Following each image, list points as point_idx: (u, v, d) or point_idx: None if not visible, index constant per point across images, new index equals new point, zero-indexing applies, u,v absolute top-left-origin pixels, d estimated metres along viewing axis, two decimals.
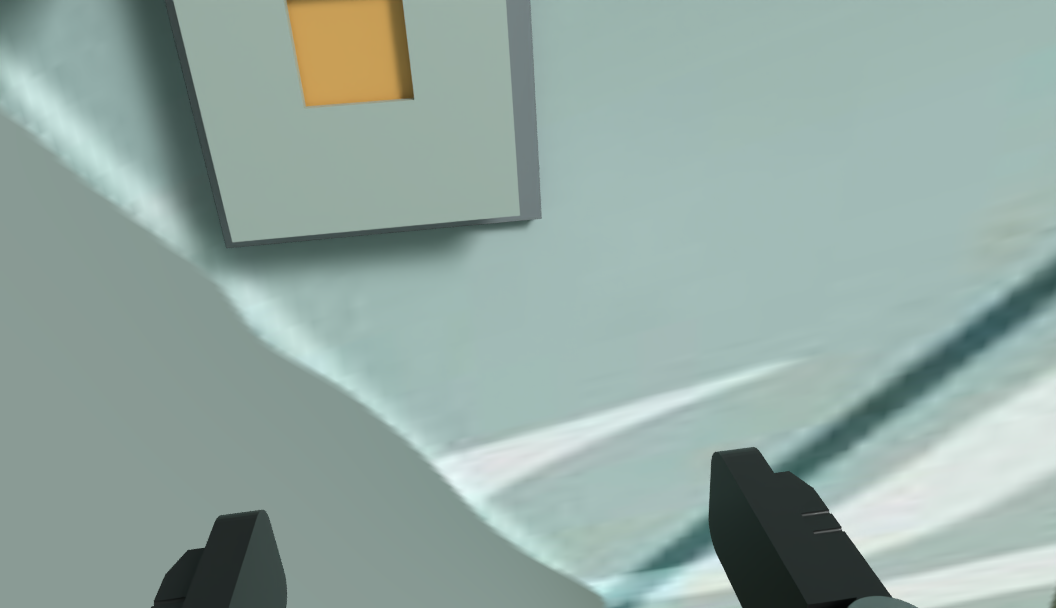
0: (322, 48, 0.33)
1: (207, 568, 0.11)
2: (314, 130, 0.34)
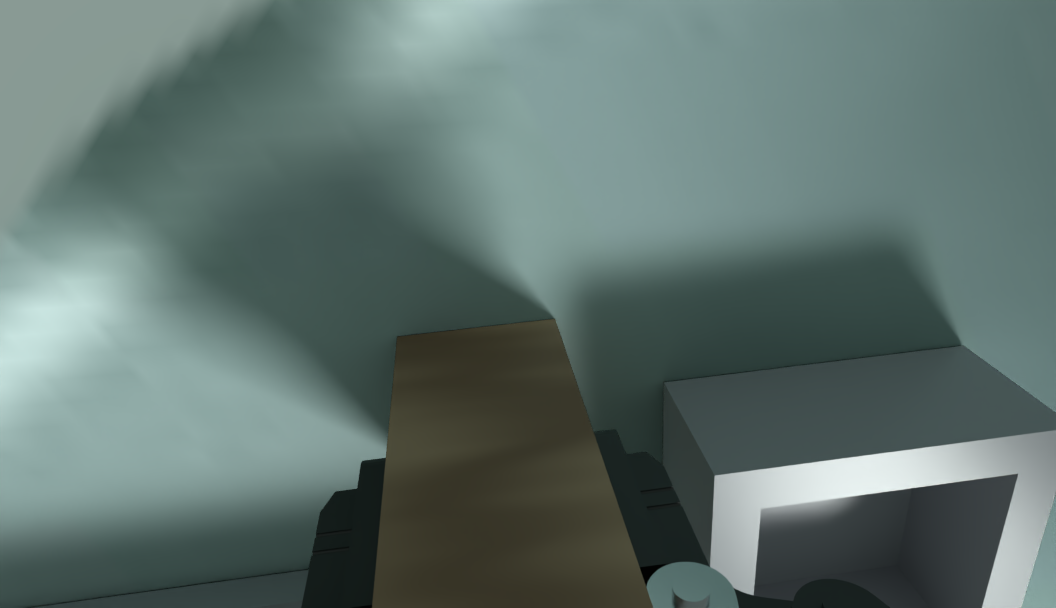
0: None
1: (365, 503, 0.12)
2: None
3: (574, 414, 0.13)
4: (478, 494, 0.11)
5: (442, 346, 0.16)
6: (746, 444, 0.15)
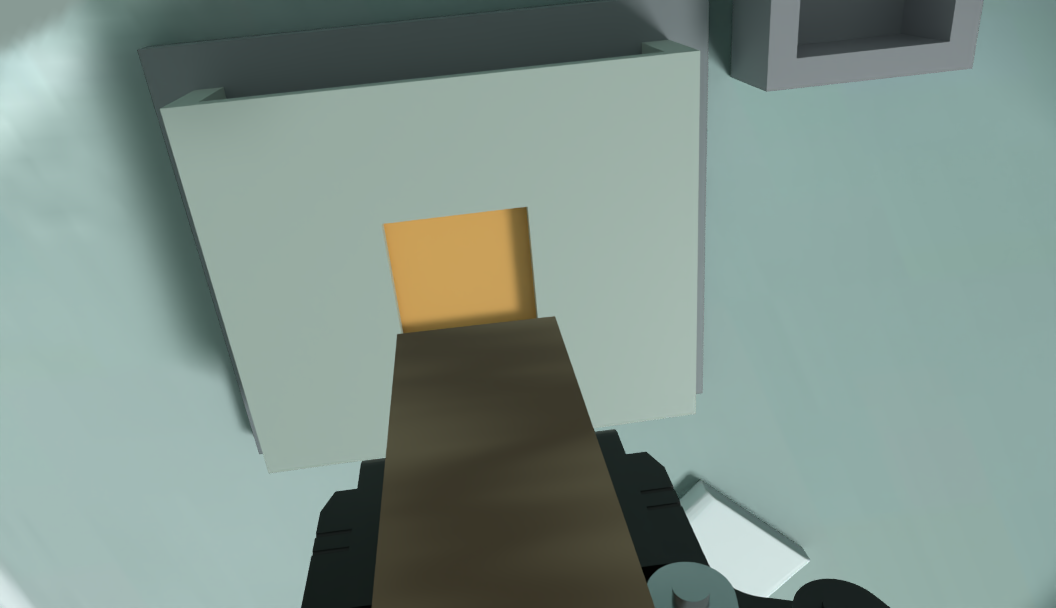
0: (456, 238, 0.26)
1: (365, 503, 0.12)
2: (353, 235, 0.25)
3: (574, 411, 0.13)
4: (478, 491, 0.11)
5: (442, 343, 0.16)
6: None
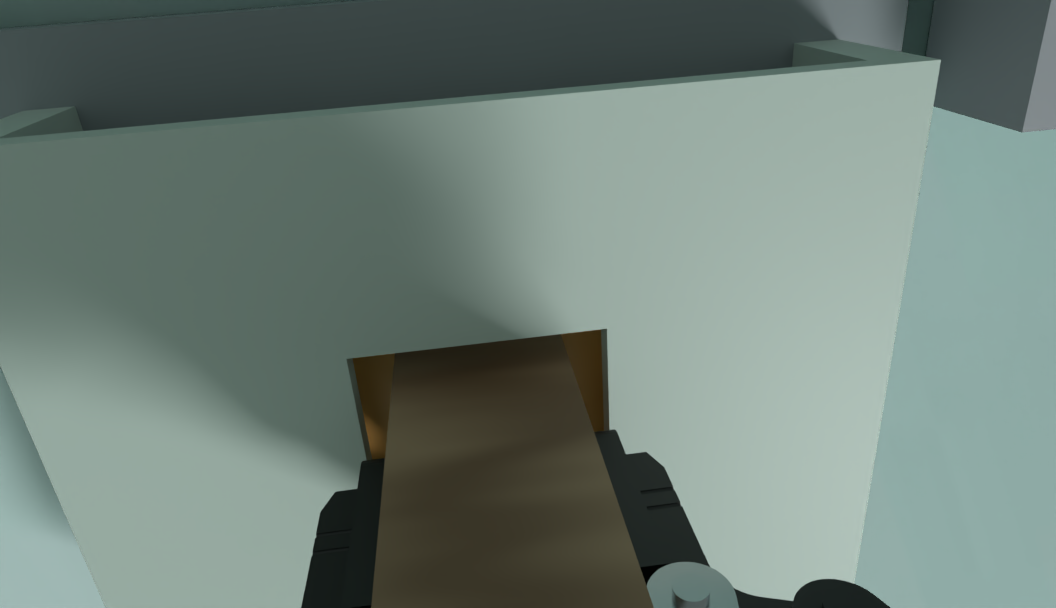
0: None
1: (365, 503, 0.12)
2: (295, 378, 0.14)
3: (574, 411, 0.13)
4: (477, 491, 0.11)
5: None
6: None
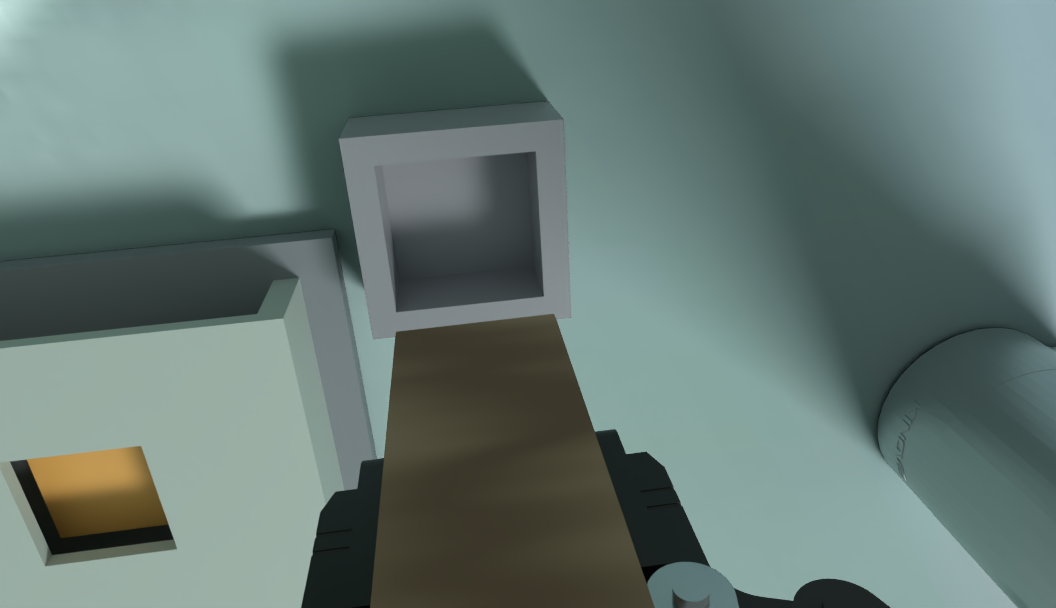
0: None
1: (365, 503, 0.12)
2: None
3: (573, 409, 0.13)
4: (477, 489, 0.11)
5: (441, 341, 0.16)
6: (369, 131, 0.25)
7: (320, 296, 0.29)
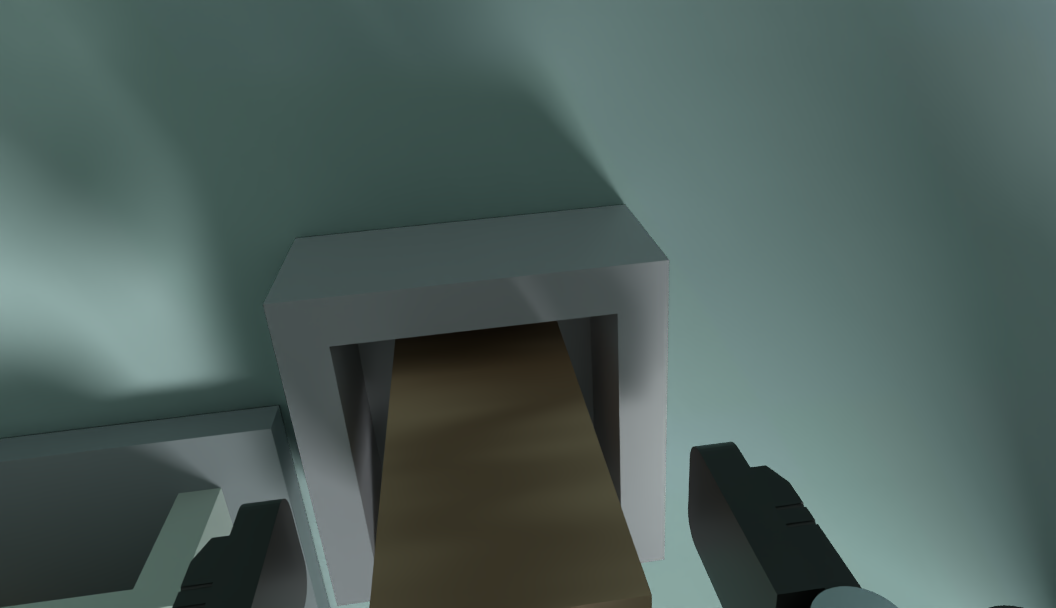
0: None
1: (232, 554, 0.11)
2: None
3: (565, 380, 0.14)
4: (474, 450, 0.12)
5: None
6: (322, 281, 0.14)
7: None
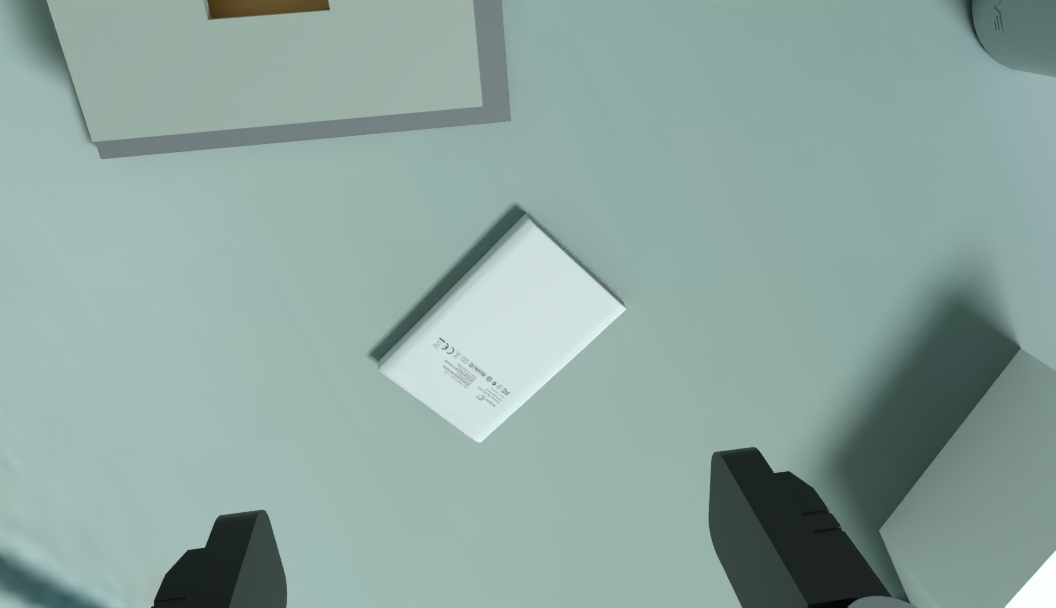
0: None
1: (207, 568, 0.11)
2: None
3: None
4: None
5: None
6: None
7: None
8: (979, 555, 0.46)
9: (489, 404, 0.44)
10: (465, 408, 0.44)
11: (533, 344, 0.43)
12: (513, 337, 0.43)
